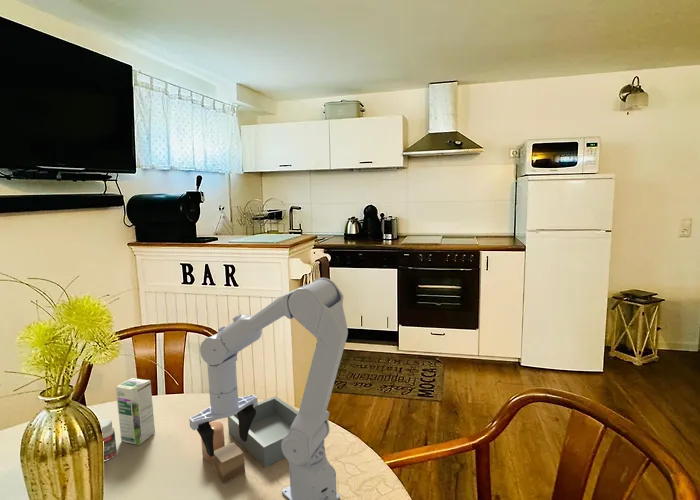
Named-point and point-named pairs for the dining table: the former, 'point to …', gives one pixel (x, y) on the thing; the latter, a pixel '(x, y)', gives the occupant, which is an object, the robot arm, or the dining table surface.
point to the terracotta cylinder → (214, 440)
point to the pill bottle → (108, 438)
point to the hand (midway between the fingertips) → (227, 446)
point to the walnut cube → (228, 462)
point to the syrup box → (135, 410)
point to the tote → (266, 430)
